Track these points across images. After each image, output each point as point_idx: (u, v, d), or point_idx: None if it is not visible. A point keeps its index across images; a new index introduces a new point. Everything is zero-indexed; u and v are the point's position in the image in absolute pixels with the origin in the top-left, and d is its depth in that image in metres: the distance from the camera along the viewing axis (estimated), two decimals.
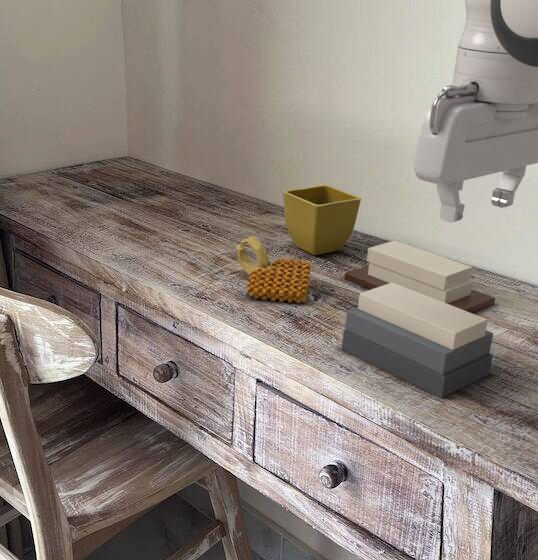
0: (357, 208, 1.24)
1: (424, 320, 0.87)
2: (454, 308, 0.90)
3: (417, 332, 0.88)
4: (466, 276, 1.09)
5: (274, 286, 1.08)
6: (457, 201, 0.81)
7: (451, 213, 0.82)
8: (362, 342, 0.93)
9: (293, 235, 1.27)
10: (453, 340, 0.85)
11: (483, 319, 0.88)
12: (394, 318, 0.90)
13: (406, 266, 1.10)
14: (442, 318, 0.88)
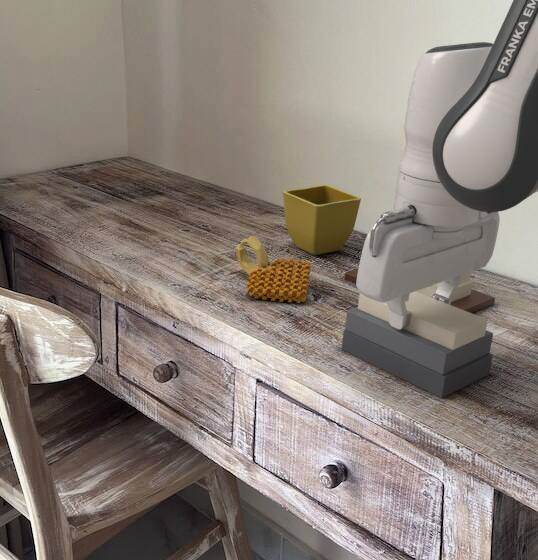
0: (357, 208, 1.24)
1: (424, 320, 0.87)
2: (453, 308, 0.90)
3: (417, 332, 0.88)
4: (466, 276, 1.09)
5: (274, 286, 1.08)
6: (404, 311, 0.87)
7: (399, 321, 0.88)
8: (362, 342, 0.93)
9: (293, 235, 1.27)
10: (452, 340, 0.85)
11: (483, 319, 0.88)
12: None
13: None
14: (442, 318, 0.88)
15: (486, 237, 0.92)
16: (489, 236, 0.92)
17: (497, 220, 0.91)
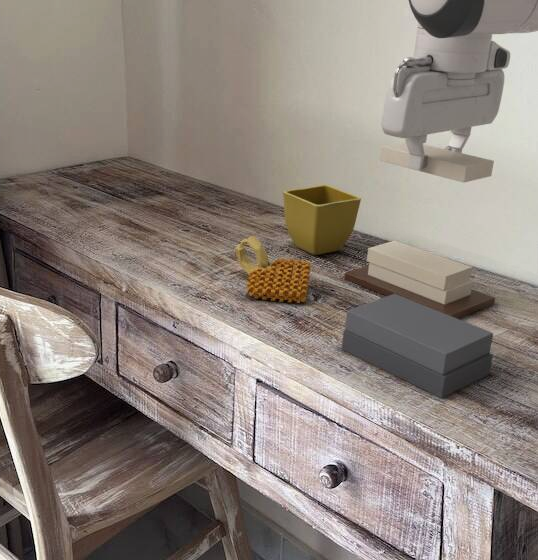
0: (357, 208, 1.24)
1: (439, 160, 1.01)
2: (464, 154, 1.04)
3: (432, 172, 1.02)
4: (466, 276, 1.09)
5: (274, 286, 1.08)
6: (422, 152, 1.01)
7: (417, 162, 1.01)
8: (362, 342, 0.93)
9: (293, 235, 1.27)
10: (464, 173, 0.98)
11: (490, 160, 1.01)
12: None
13: (406, 266, 1.10)
14: (455, 159, 1.01)
15: (492, 94, 1.05)
16: (495, 93, 1.05)
17: (502, 78, 1.04)
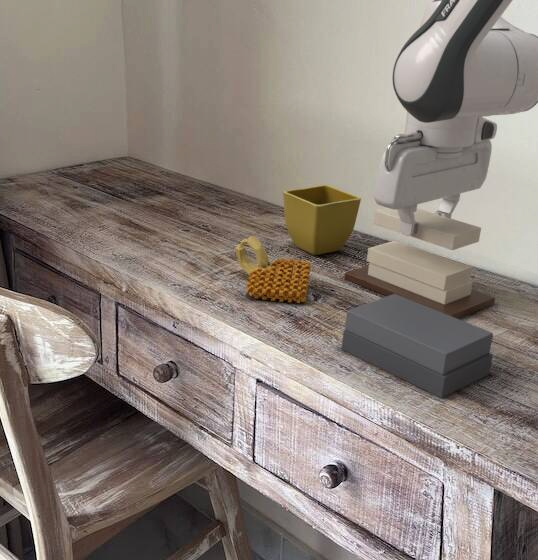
0: (357, 208, 1.24)
1: (429, 227, 1.06)
2: (453, 220, 1.09)
3: (423, 238, 1.07)
4: (466, 276, 1.09)
5: (274, 286, 1.08)
6: (413, 220, 1.06)
7: (408, 229, 1.07)
8: (362, 342, 0.93)
9: (293, 235, 1.27)
10: (452, 241, 1.04)
11: (477, 227, 1.07)
12: None
13: (406, 266, 1.10)
14: (444, 226, 1.06)
15: (480, 162, 1.10)
16: (483, 161, 1.10)
17: (489, 147, 1.09)
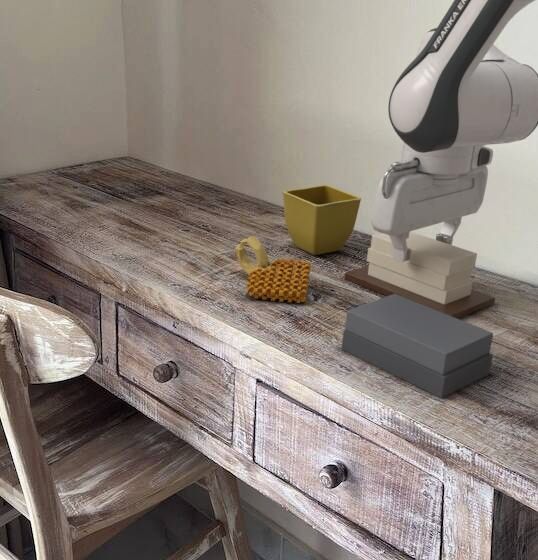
0: (357, 208, 1.24)
1: (425, 253, 1.07)
2: (449, 245, 1.10)
3: (419, 264, 1.08)
4: (466, 276, 1.09)
5: (274, 286, 1.08)
6: (405, 247, 1.07)
7: (401, 255, 1.07)
8: (362, 342, 0.93)
9: (293, 235, 1.27)
10: (448, 268, 1.05)
11: (473, 253, 1.08)
12: None
13: (406, 266, 1.10)
14: (440, 252, 1.08)
15: (476, 187, 1.12)
16: (479, 186, 1.12)
17: (486, 173, 1.11)
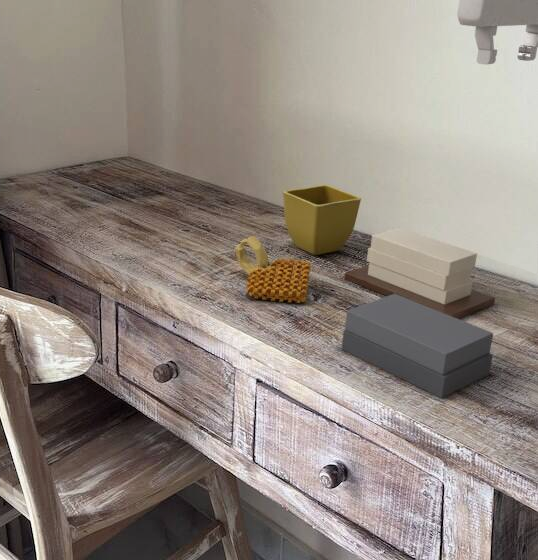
0: (357, 208, 1.24)
1: (425, 253, 1.07)
2: (449, 245, 1.10)
3: (419, 264, 1.08)
4: (466, 276, 1.09)
5: (274, 286, 1.08)
6: (492, 45, 1.00)
7: (486, 56, 1.01)
8: (362, 342, 0.93)
9: (293, 235, 1.27)
10: (448, 268, 1.05)
11: (473, 253, 1.08)
12: (400, 253, 1.10)
13: (406, 266, 1.10)
14: (440, 252, 1.08)
15: None
16: None
17: None
